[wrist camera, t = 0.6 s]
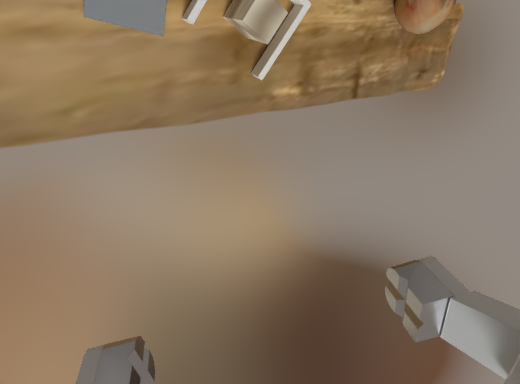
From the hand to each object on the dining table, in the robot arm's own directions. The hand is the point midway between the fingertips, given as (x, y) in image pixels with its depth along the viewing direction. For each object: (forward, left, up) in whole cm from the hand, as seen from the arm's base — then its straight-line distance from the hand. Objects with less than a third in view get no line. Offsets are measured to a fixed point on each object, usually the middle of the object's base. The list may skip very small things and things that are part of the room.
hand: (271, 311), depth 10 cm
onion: (-21, +48, -47) cm, 71 cm away
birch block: (-11, +16, -47) cm, 51 cm away
